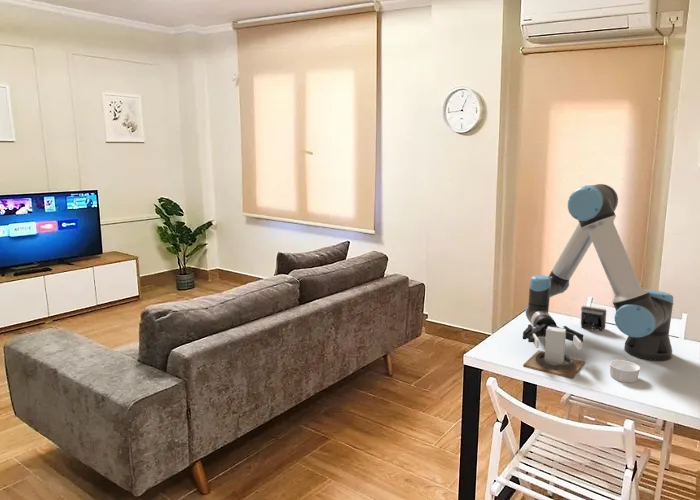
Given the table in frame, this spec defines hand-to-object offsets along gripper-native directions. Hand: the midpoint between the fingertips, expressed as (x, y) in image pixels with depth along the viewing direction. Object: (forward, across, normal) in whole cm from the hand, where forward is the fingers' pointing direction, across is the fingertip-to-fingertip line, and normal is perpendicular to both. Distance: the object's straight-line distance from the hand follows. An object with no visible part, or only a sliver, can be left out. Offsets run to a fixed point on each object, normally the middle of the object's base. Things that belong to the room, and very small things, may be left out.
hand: (558, 345), depth 179 cm
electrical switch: (-42, -25, -8) cm, 50 cm away
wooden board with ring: (-3, 0, -8) cm, 9 cm away
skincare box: (-3, 0, -8) cm, 8 cm away
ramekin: (+5, -20, -9) cm, 22 cm away
